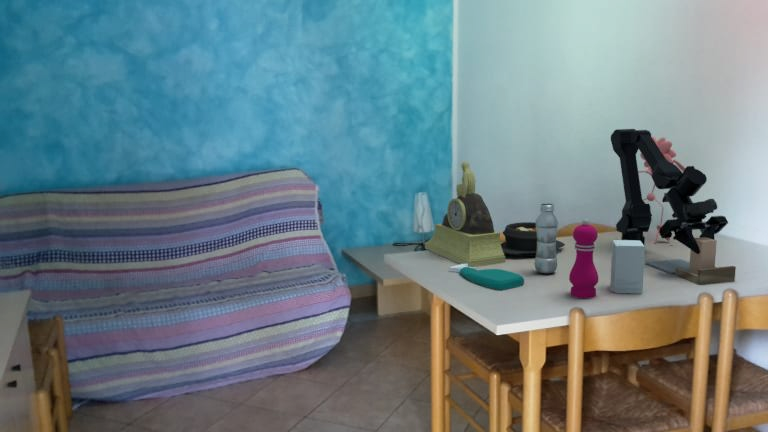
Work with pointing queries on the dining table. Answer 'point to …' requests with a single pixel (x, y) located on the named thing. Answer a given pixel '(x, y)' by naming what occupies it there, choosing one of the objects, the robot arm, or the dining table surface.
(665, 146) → the pink artificial flower
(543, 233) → the plastic bottle
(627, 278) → the supplement box
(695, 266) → the peach block
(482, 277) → the spray bottle
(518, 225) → the casserole
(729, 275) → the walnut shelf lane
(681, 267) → the slate rubber mat
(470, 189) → the decorative clock
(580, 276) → the pepper mill
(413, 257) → the dining table surface
